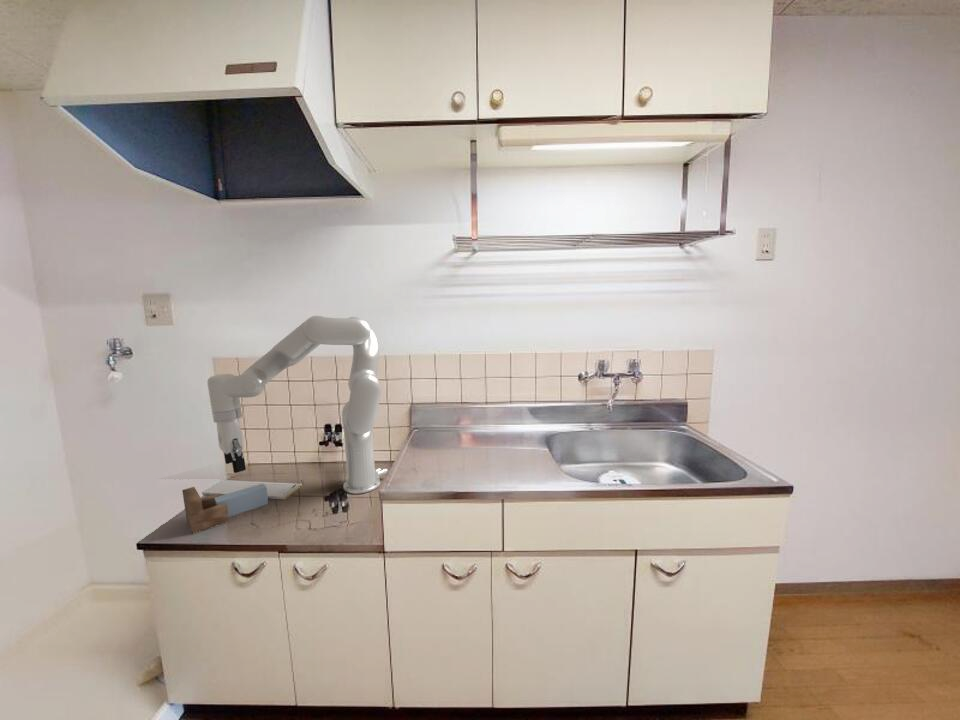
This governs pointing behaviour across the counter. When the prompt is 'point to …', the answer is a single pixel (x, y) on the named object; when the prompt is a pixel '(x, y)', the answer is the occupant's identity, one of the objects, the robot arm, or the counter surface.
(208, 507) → the walnut end cap
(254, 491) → the slate slat
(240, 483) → the baseboard molding
